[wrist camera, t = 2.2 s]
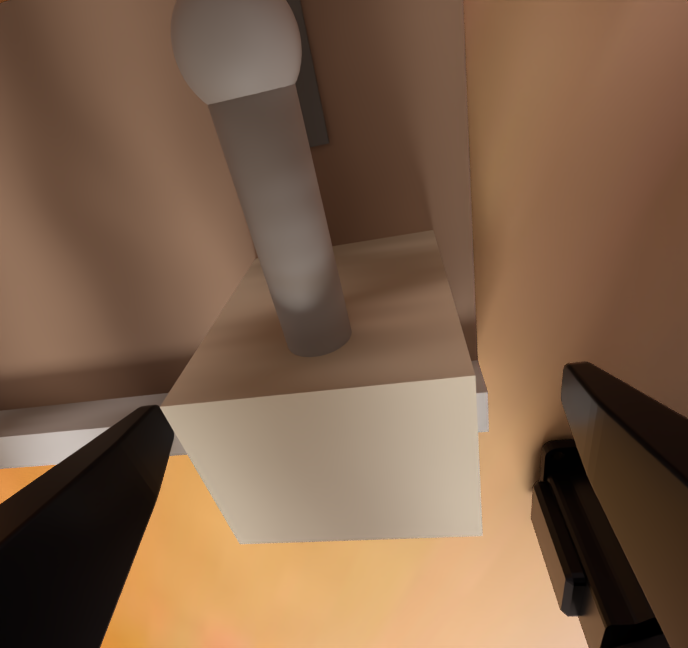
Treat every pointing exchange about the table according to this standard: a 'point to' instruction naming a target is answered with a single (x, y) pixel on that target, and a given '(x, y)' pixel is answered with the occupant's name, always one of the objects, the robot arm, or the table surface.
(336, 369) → the ball-top joystick
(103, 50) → the board
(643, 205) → the table surface
